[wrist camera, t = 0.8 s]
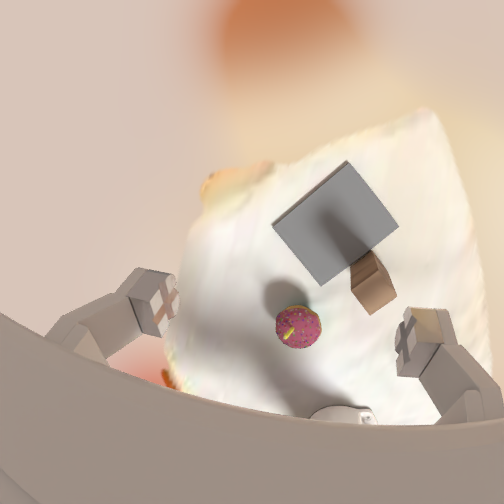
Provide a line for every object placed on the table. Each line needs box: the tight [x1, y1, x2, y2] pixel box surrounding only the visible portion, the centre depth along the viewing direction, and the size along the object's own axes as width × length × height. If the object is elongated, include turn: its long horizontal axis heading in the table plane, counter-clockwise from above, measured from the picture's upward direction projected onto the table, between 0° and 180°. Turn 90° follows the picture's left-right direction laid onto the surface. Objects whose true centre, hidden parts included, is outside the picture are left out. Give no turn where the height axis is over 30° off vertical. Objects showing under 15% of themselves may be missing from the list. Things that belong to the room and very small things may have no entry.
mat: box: [272, 163, 399, 286], centre depth 51 cm, size 14×18×1 cm
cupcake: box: [276, 305, 322, 349], centre depth 52 cm, size 9×8×12 cm
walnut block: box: [350, 251, 397, 315], centre depth 46 cm, size 5×5×12 cm
